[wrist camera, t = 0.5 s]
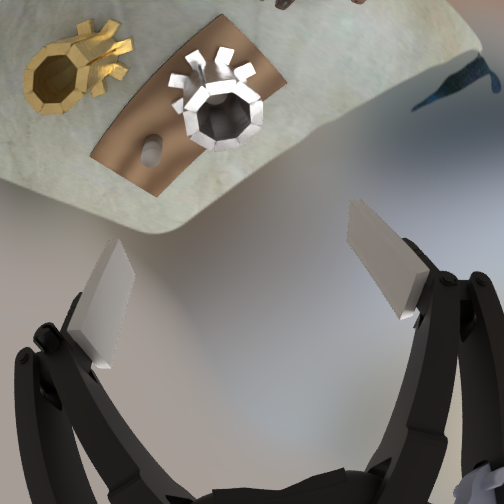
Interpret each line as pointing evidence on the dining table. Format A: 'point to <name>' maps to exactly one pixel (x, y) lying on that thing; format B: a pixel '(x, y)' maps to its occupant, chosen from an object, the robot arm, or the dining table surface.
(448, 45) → the dining table surface
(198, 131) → the aluminium cog
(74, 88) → the gold hollow faceted cylinder
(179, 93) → the gear board
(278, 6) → the figurine
